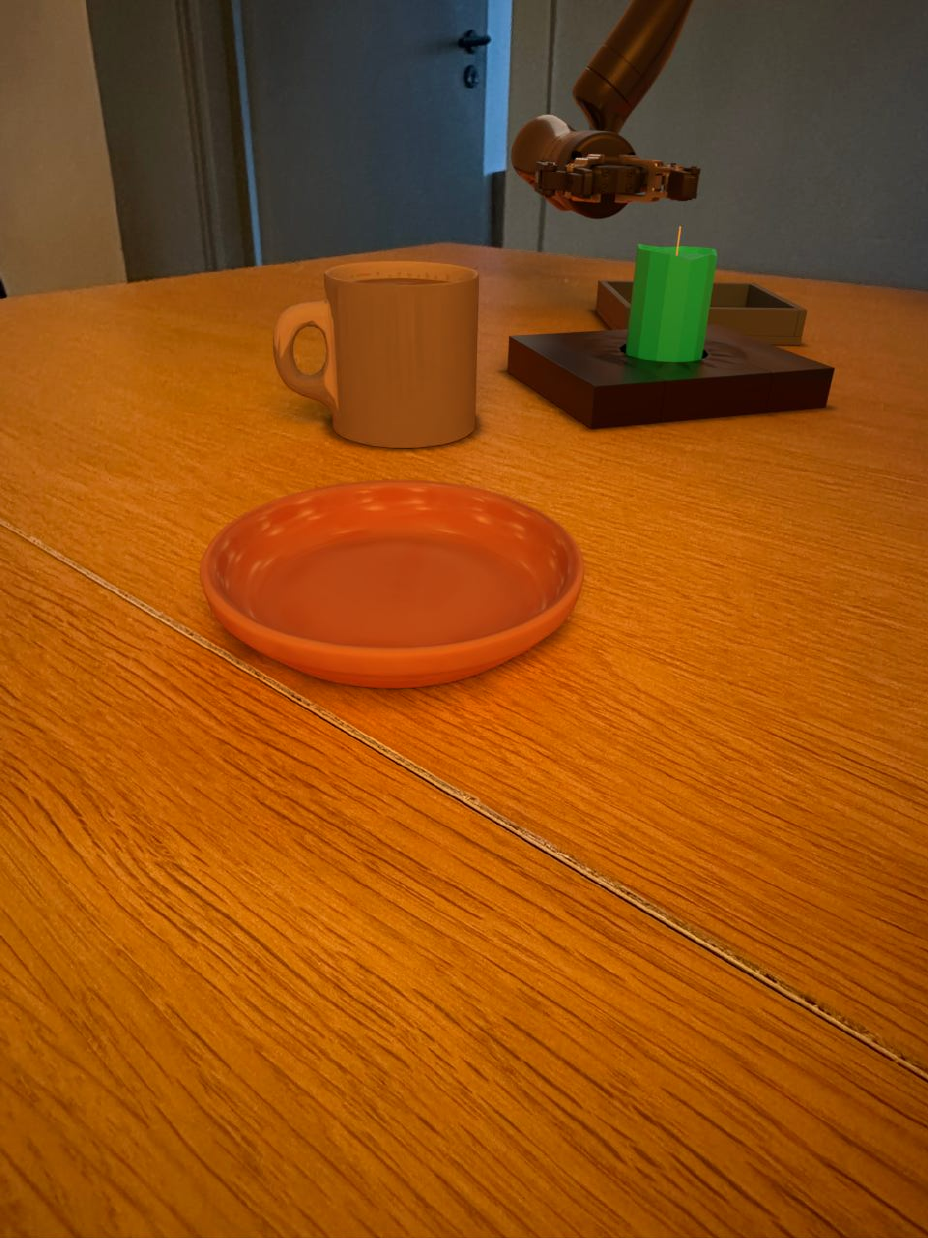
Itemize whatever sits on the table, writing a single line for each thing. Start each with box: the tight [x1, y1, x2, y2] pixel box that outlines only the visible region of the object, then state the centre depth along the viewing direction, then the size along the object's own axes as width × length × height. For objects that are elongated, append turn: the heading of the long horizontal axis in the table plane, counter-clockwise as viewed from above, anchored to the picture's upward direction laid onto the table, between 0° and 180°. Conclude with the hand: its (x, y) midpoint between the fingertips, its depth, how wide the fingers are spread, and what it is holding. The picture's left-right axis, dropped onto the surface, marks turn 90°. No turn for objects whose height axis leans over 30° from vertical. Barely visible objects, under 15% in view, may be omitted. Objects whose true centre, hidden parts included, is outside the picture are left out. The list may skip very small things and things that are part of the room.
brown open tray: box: [595, 279, 808, 346], centre depth 90 cm, size 18×16×3 cm
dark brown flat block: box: [506, 324, 836, 430], centre depth 69 cm, size 20×16×3 cm
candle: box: [625, 225, 719, 362], centre depth 67 cm, size 6×6×12 cm
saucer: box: [199, 479, 586, 689], centre depth 37 cm, size 16×16×3 cm
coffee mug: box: [272, 260, 480, 449], centre depth 58 cm, size 13×10×10 cm
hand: (637, 186), depth 73 cm, fingers open, 8 cm apart
